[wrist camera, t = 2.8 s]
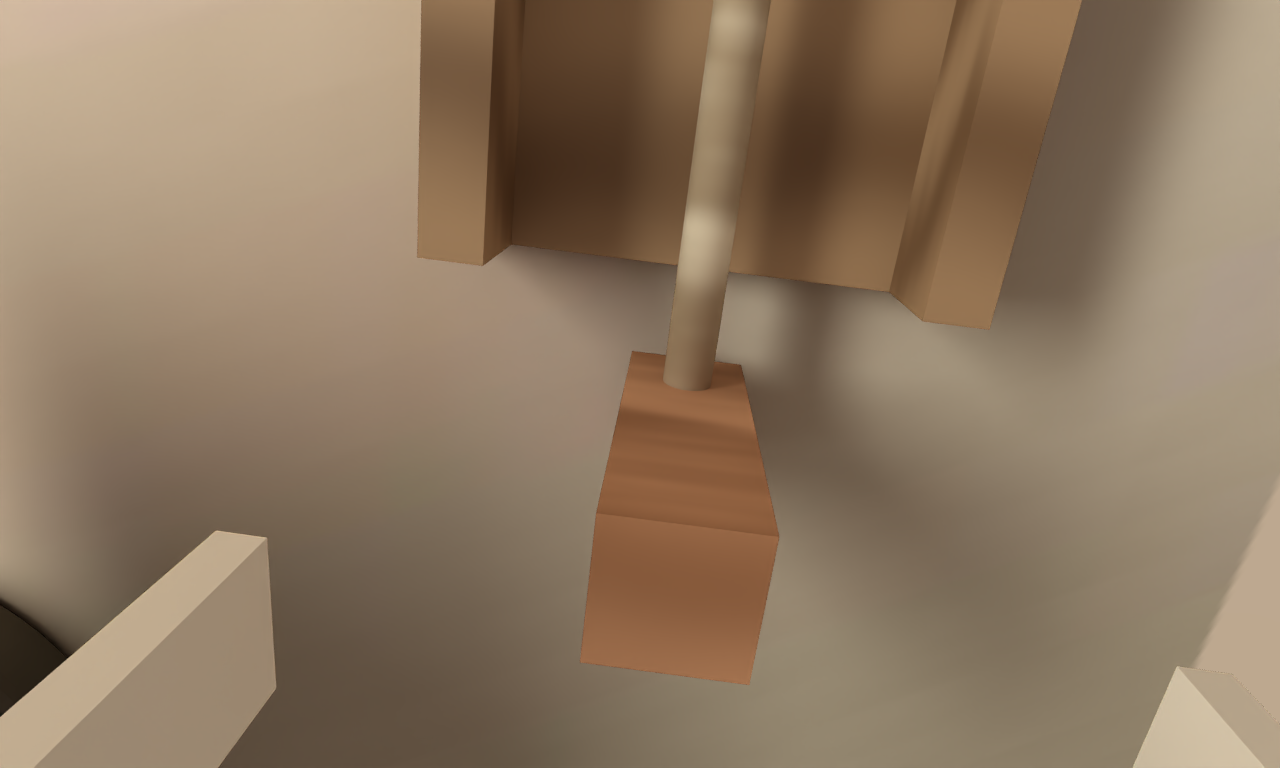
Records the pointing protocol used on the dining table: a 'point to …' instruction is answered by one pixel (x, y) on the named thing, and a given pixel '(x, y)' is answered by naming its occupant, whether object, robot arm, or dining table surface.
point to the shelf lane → (778, 145)
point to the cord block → (691, 430)
